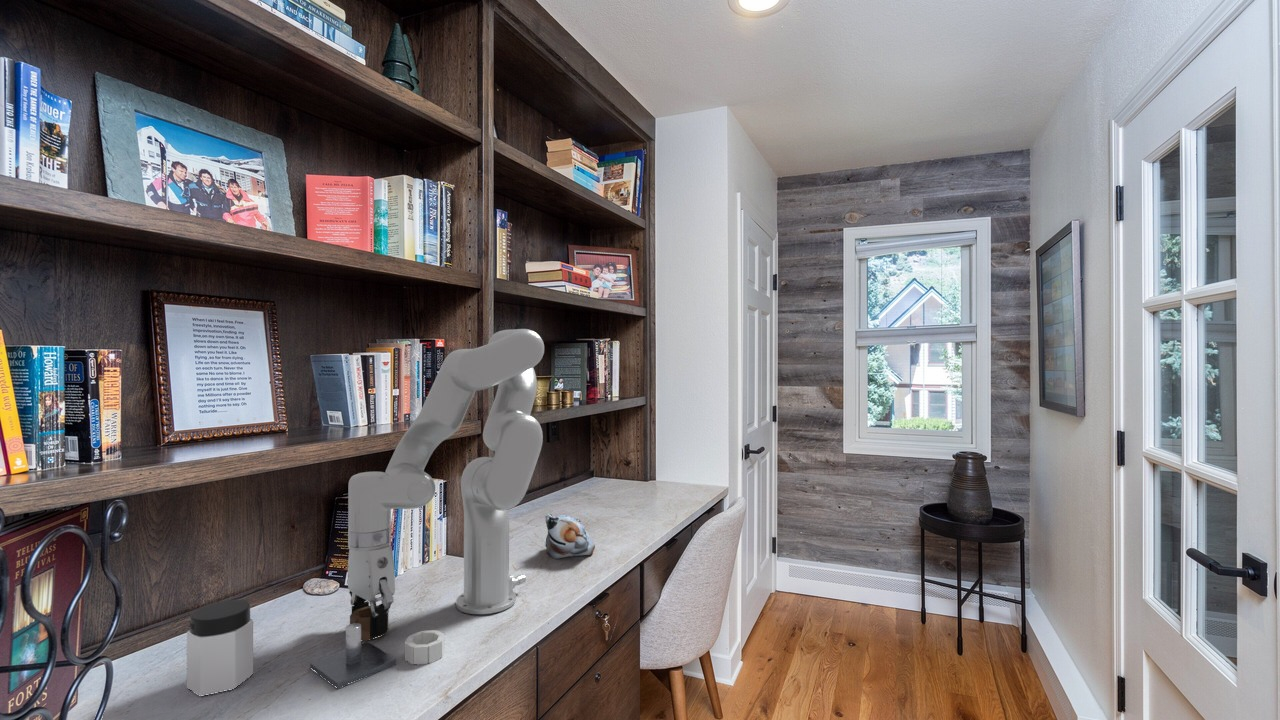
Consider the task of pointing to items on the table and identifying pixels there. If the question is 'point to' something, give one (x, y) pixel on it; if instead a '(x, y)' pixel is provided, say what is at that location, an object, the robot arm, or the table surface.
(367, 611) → the brown angular block
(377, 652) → the post
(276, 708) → the table surface
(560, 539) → the lucky cat figurine
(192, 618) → the jar
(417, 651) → the collar
